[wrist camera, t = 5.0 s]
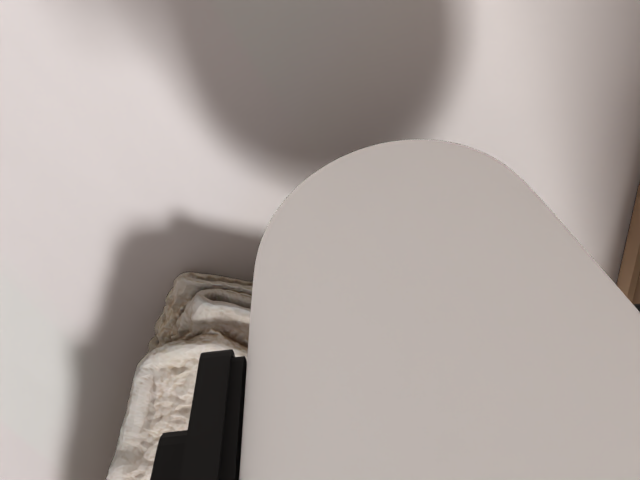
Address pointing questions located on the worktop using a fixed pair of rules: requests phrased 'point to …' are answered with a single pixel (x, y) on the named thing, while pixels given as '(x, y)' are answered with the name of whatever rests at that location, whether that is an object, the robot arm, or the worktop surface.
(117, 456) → the washcloth
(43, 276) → the worktop surface
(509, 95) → the worktop surface
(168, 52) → the worktop surface
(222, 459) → the robot arm
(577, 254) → the can
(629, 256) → the wooden tray
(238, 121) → the worktop surface
